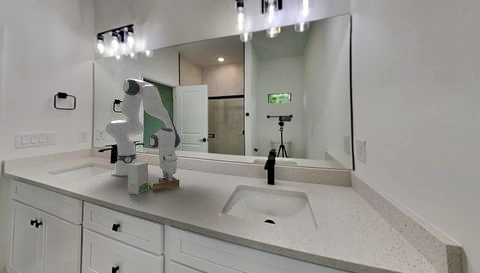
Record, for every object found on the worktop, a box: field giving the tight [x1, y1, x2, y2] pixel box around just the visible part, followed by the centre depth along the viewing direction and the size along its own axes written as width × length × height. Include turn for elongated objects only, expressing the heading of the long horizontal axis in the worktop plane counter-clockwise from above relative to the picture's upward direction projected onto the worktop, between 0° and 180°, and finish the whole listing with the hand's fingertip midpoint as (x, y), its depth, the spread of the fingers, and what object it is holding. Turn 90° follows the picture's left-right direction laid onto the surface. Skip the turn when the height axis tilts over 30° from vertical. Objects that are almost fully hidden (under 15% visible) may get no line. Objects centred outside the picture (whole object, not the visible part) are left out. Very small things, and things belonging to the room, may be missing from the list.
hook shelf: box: [148, 173, 180, 193], centre depth 105 cm, size 12×14×8 cm
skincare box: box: [127, 161, 149, 195], centre depth 97 cm, size 8×7×16 cm
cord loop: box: [157, 176, 177, 183], centre depth 106 cm, size 6×8×3 cm
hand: (167, 178), depth 106 cm, fingers open, 8 cm apart
